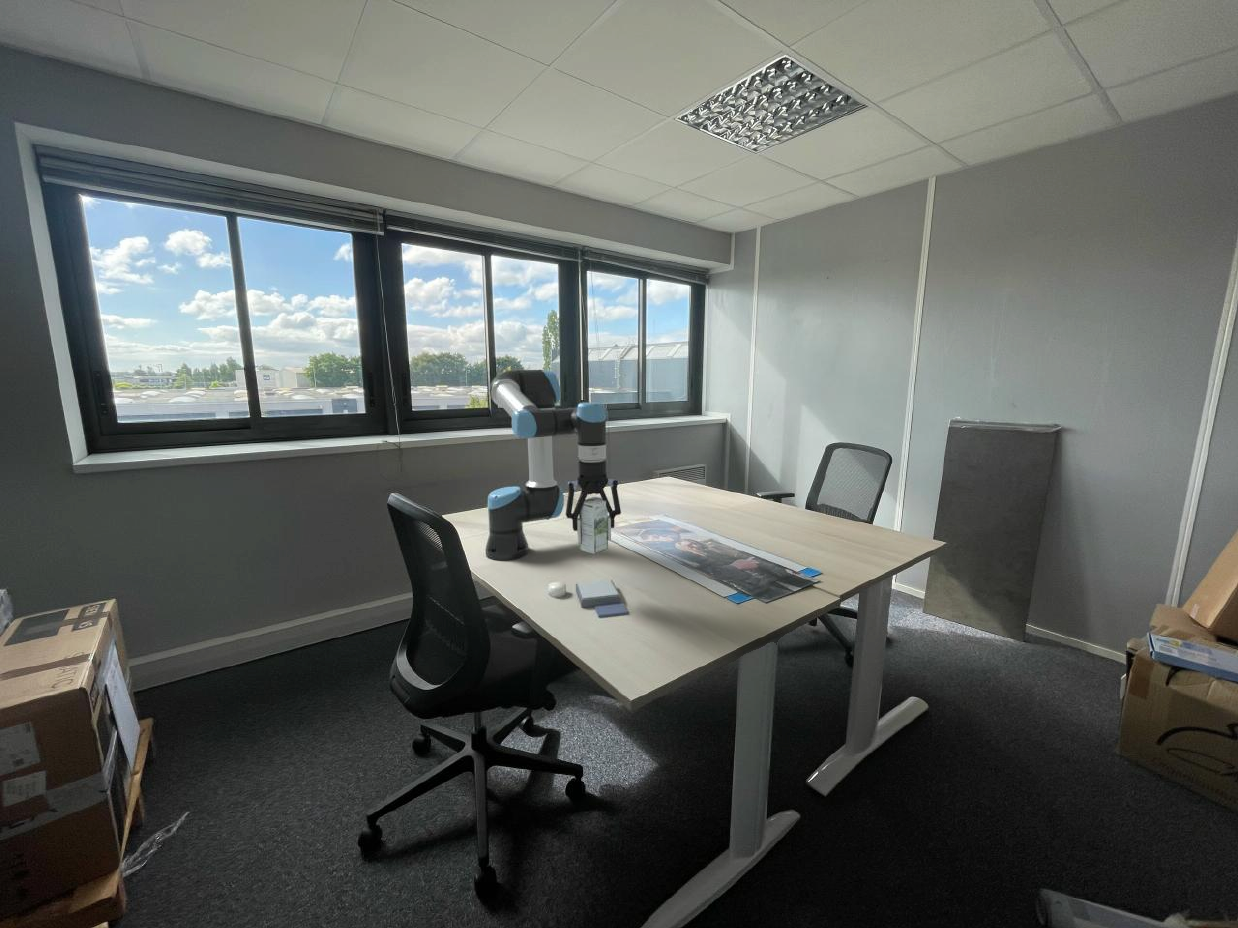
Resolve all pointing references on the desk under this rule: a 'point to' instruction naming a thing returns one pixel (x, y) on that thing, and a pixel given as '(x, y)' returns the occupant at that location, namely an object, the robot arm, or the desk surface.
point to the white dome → (557, 589)
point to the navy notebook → (611, 610)
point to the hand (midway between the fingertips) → (593, 540)
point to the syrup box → (594, 525)
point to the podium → (597, 593)
